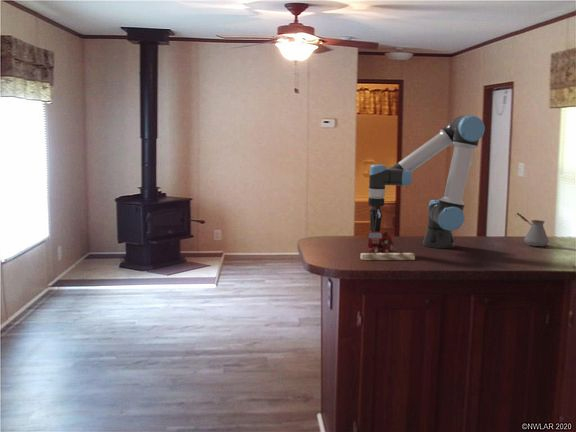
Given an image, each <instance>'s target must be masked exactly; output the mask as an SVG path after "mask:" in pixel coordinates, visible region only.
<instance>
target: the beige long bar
mask: <svg viewBox="0 0 576 432" xmlns="http://www.w3.org/2000/svg"><path fill="white" fill-rule="evenodd" d="M359 257H360V260H361V259H362V261H411V260H412V261H415V260H416V254H415V253H414V252H391V253H382V252H380V253H371V252H361V253H360V255H359Z"/></svg>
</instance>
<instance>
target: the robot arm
mask: <svg viewBox="0 0 576 432" xmlns="http://www.w3.org/2000/svg"><path fill="white" fill-rule="evenodd" d="M485 128H486V127H485V124H484V121H483V120H482V118H480V117H478V116H475V115H473V114H472V115H471V114H469V115H468V114H467V115H460V116H457V117H456V118H454V119H453V120H451V121H450V122H449V123H448V124H446V125H445V126H444V127H443V128H441V129H439V133H437V134H436V135H435V136H434V137H432V138H430V139H429V140H428V141H426V142H424V144H422V145H421V146H419V147H417V148H416V149H415V150H414V151H412V152H411V153H410V154H409V155H407V156H405V157H404V158H402V159H401V160H400V161H399V162H397V163H396V164H395V165H393V166H391V167H388V168H387V165H385V164H371V165H370V168H369V175H368V176H369V177H368V179H369V185H368V190H367V193H368V199H367V200H368V203H367V205H368V206H369V207H371V209H370V210H369V224H370V225H369V227H370V229H369V230H370V231H369V232H381V225H382V217H383V214H382V210H381V207H384V206H385V197H386V186H396V187H397V186H400V187H401V186H402V187H405V186H406V187H408V186H410V185H411V184H412V180H413V179H412V178H413V177H412V172H413V171H414V170H416V169H418V168H419V167H420V166H422V165H423V164H424V163H426V162H428V161H429V160H430V159H432V158H433V157H435V156H436V155H437V154H439V153H440V152H442V151H444V150H445V149H446V148H448V147H453V153H452V157H451V162H450V166H449V170H448V174H447V175H448V176H447V180H446V184H445V189H444V194H443V196H442V197H441V198H439V199H431V200H429V204H428V213H427V214H428V218H427V230H426V233H425V235H424V238H423V241H422V242H423V243H422V246H425V247H428V248H433V249H453V248H454V247H455V240H454V236H453V231H456V230H458V229H459V228H461V227H462V226H463V224H464V222H465V214H464V208H465V202H464V201H463V198H464V197H463V196H464V193H465V189H466V185H467V180H468V176H469V175H468V174H469V171H470V166H471V162H472V158H473V153H474V150H475V149H476V148H478V146H479V142H480V139H481V138H482V137H483V136H484V133H485V130H486V129H485Z"/></svg>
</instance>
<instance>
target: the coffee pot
mask: <svg viewBox="0 0 576 432" xmlns="http://www.w3.org/2000/svg"><path fill="white" fill-rule="evenodd" d="M514 216H518V217H520V218H521V219H522V220H523V221H525V222H526V223H528V224H529V225H530V228H529V229H528V232H527V234H526V235H525V237H524V242H525V244H527V246H528V245H533V246H544V247H545V246H547V245H548V244H549V239H548V236H547V233H546V229H545V226H544V224H545V220H538V219H537V220H536V219H532V220H531V222H530V221H529V220H527V219H526V218H525V216H523V215H522V214H520V213H519V212H516V213H515V215H514Z"/></svg>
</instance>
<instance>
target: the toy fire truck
mask: <svg viewBox="0 0 576 432" xmlns="http://www.w3.org/2000/svg"><path fill="white" fill-rule="evenodd" d="M366 238H367V248H366V249H367V251H369V253H392V252H393V251H394V242H393V240H392V238H391V236H390V235H389V233H388V231H383V232H382V231H380V232H371V231H367V233H366Z"/></svg>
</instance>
